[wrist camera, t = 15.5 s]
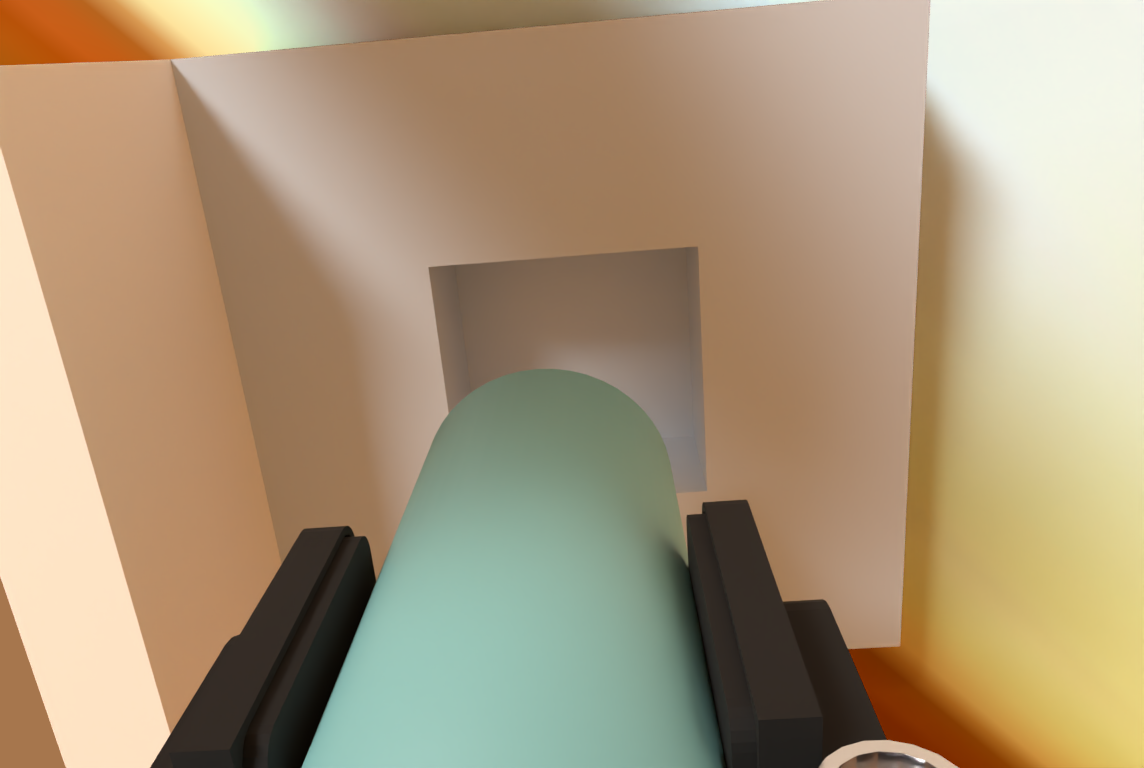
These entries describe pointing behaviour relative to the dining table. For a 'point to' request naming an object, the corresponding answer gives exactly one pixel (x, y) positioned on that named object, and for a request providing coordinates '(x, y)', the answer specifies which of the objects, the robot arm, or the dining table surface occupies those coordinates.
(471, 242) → the socket block
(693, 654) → the dowel
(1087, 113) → the dining table surface
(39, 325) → the wall
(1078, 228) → the dining table surface
